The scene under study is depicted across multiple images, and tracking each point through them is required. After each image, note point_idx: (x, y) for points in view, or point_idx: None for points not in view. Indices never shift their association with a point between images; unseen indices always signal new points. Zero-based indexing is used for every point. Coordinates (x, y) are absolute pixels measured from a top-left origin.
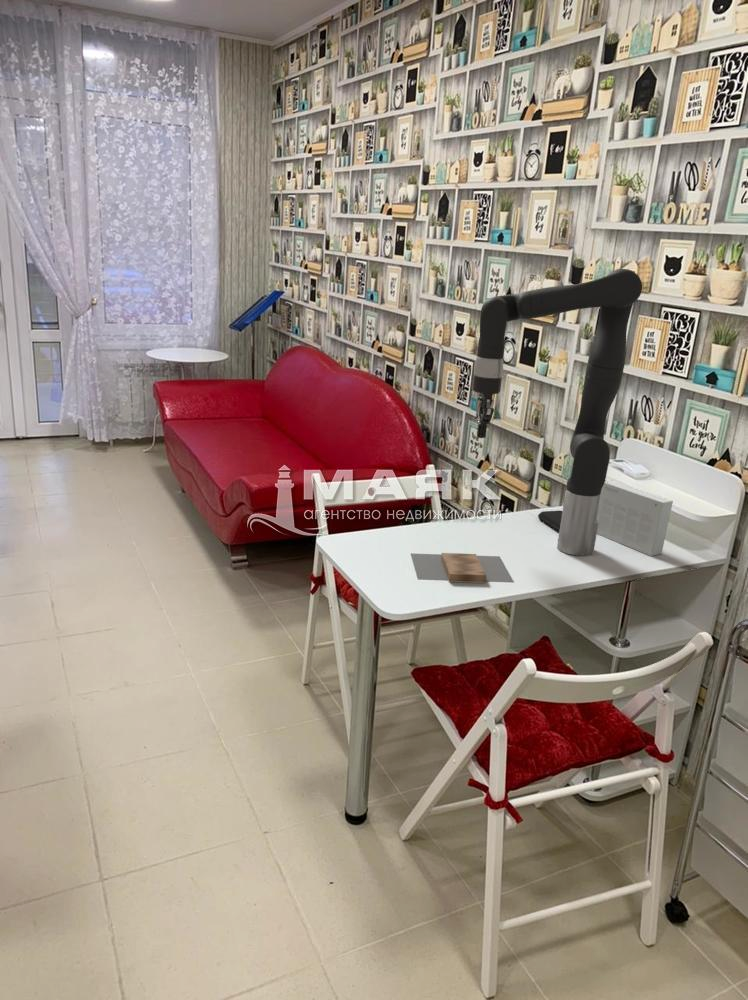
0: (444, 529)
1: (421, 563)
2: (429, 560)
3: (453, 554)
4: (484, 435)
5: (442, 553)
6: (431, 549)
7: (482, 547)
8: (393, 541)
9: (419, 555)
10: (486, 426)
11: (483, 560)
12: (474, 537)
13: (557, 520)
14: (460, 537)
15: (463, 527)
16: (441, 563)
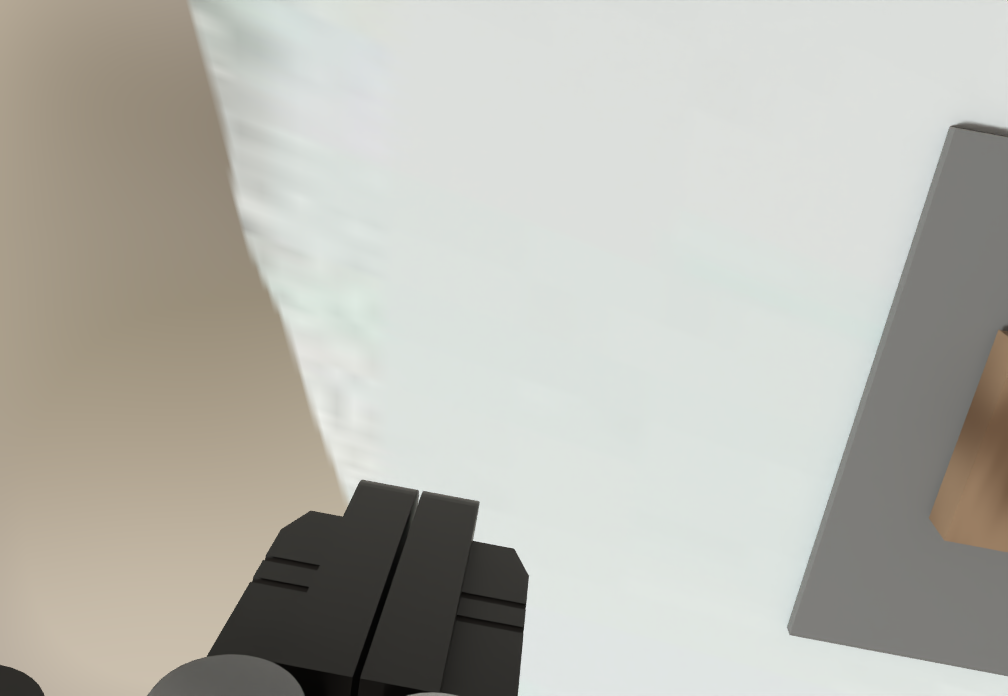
0: (409, 311)
1: (936, 623)
2: (907, 571)
3: (986, 483)
4: (525, 574)
5: (953, 538)
6: (722, 494)
7: (745, 169)
8: (577, 650)
9: (827, 600)
10: (444, 669)
11: (992, 266)
12: (565, 158)
13: None
14: (556, 255)
15: (377, 167)
16: None
